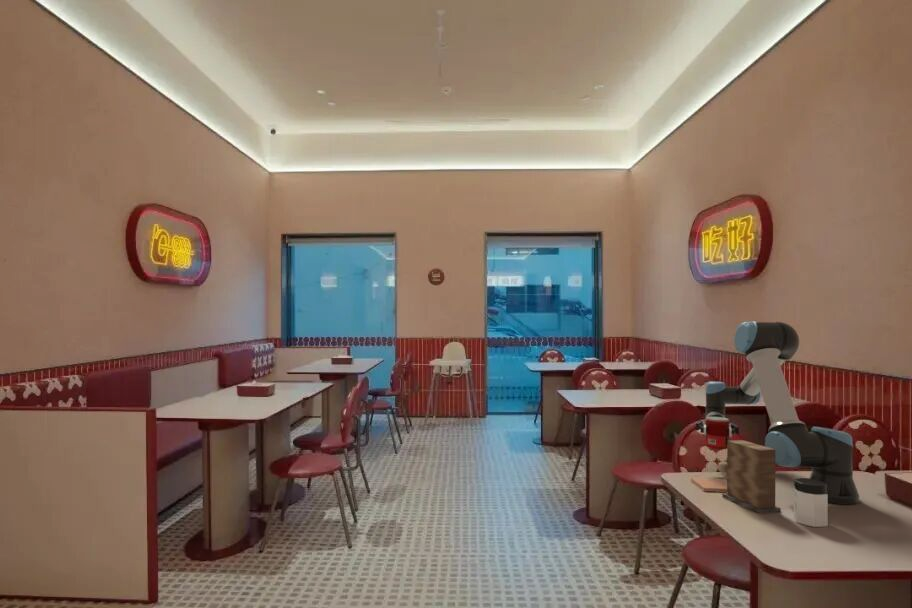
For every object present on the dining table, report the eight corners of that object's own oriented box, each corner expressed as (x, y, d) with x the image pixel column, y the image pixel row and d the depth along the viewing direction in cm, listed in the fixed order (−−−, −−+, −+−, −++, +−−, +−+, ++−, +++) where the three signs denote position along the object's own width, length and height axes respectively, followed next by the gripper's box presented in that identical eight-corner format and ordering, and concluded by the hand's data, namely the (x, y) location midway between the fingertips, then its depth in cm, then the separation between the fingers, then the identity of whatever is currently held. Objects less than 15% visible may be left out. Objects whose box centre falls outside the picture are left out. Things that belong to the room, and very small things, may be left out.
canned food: (731, 450, 209) (731, 420, 209) (708, 448, 210) (708, 419, 211) (725, 445, 216) (725, 417, 216) (703, 444, 218) (703, 416, 218)
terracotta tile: (724, 482, 206) (724, 479, 206) (738, 492, 194) (738, 489, 194) (691, 481, 206) (691, 478, 206) (703, 491, 194) (703, 487, 194)
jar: (791, 515, 172) (791, 476, 172) (822, 519, 169) (822, 479, 169) (797, 525, 163) (797, 483, 164) (830, 529, 160) (830, 487, 161)
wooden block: (722, 497, 188) (722, 440, 189) (742, 495, 190) (742, 439, 191) (759, 513, 173) (759, 451, 173) (780, 511, 175) (780, 450, 175)
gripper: (744, 433, 226) (748, 445, 205) (688, 429, 234) (687, 439, 213) (744, 415, 226) (749, 424, 205) (688, 411, 234) (687, 419, 213)
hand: (717, 432), depth 209 cm, fingers closed on canned food, 8 cm apart
